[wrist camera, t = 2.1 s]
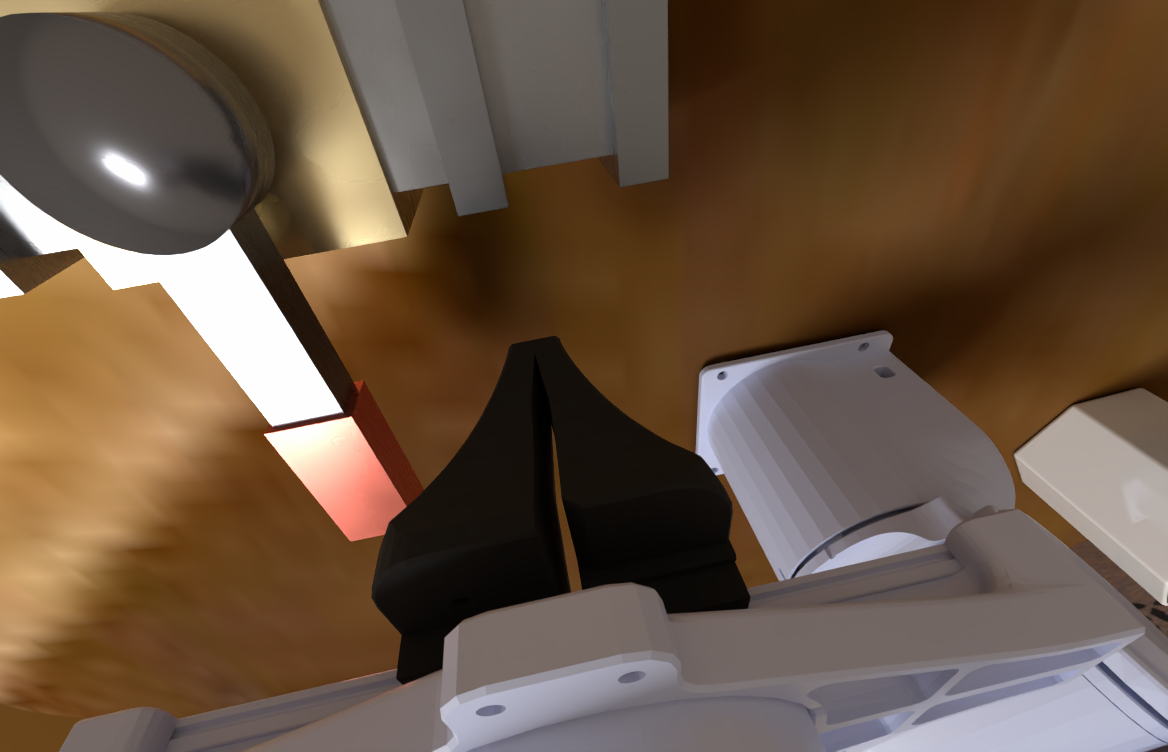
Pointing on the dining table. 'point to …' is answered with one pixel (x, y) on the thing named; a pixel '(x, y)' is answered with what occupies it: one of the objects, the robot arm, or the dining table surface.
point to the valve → (395, 111)
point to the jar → (1109, 479)
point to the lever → (193, 227)
